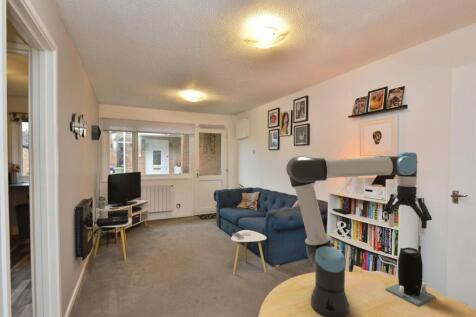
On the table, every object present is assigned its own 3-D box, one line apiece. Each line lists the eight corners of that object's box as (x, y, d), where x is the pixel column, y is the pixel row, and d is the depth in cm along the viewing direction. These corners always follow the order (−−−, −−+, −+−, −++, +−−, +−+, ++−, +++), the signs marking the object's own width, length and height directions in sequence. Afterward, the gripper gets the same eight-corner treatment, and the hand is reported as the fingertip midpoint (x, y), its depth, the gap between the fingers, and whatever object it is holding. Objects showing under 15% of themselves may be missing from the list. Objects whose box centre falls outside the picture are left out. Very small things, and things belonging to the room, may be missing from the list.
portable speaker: (424, 299, 109) (425, 254, 109) (400, 294, 113) (400, 251, 113) (418, 289, 117) (419, 248, 117) (395, 285, 121) (396, 245, 121)
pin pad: (417, 306, 106) (417, 294, 106) (385, 290, 118) (385, 279, 118) (435, 298, 112) (435, 287, 112) (403, 283, 124) (403, 273, 124)
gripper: (442, 188, 106) (441, 238, 106) (386, 182, 129) (385, 223, 129) (432, 189, 103) (431, 240, 103) (376, 182, 125) (375, 224, 126)
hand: (405, 231), depth 116 cm, fingers open, 13 cm apart
